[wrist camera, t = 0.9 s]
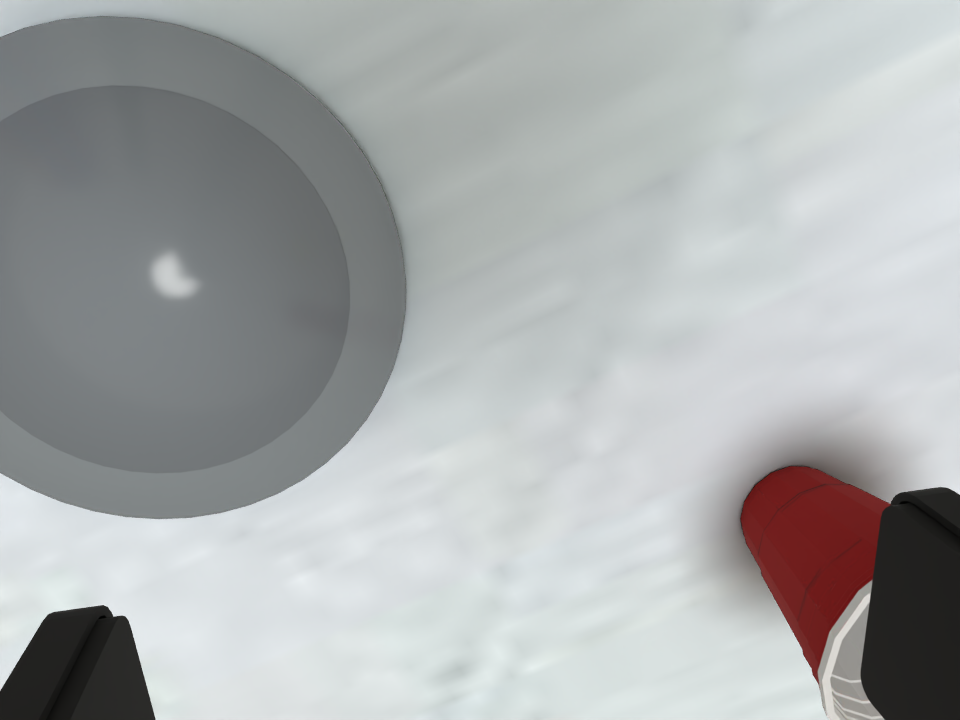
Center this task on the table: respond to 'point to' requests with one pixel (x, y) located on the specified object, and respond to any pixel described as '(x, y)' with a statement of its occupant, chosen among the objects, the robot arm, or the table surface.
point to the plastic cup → (819, 573)
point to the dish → (181, 272)
